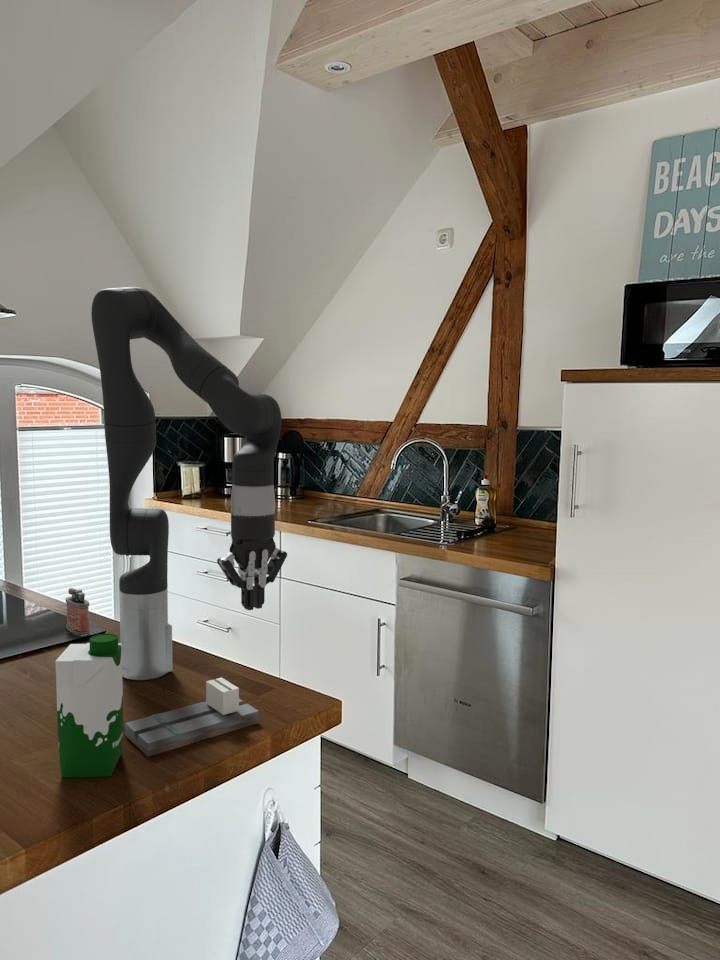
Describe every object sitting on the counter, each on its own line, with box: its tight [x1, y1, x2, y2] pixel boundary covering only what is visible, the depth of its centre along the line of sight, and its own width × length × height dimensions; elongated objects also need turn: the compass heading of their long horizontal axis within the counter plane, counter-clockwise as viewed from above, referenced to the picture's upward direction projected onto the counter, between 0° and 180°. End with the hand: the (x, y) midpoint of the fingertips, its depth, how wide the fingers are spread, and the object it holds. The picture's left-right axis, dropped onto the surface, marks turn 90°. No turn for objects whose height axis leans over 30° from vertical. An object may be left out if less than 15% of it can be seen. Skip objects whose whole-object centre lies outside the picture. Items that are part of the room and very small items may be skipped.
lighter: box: [65, 587, 91, 635], centre depth 176 cm, size 8×3×10 cm, turn 47°
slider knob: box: [205, 676, 240, 715], centre depth 131 cm, size 3×6×5 cm, turn 39°
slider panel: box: [124, 698, 260, 758], centre depth 127 cm, size 20×9×2 cm, turn 129°
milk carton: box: [54, 633, 124, 779], centre depth 114 cm, size 9×9×20 cm
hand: (252, 608), depth 133 cm, fingers closed
